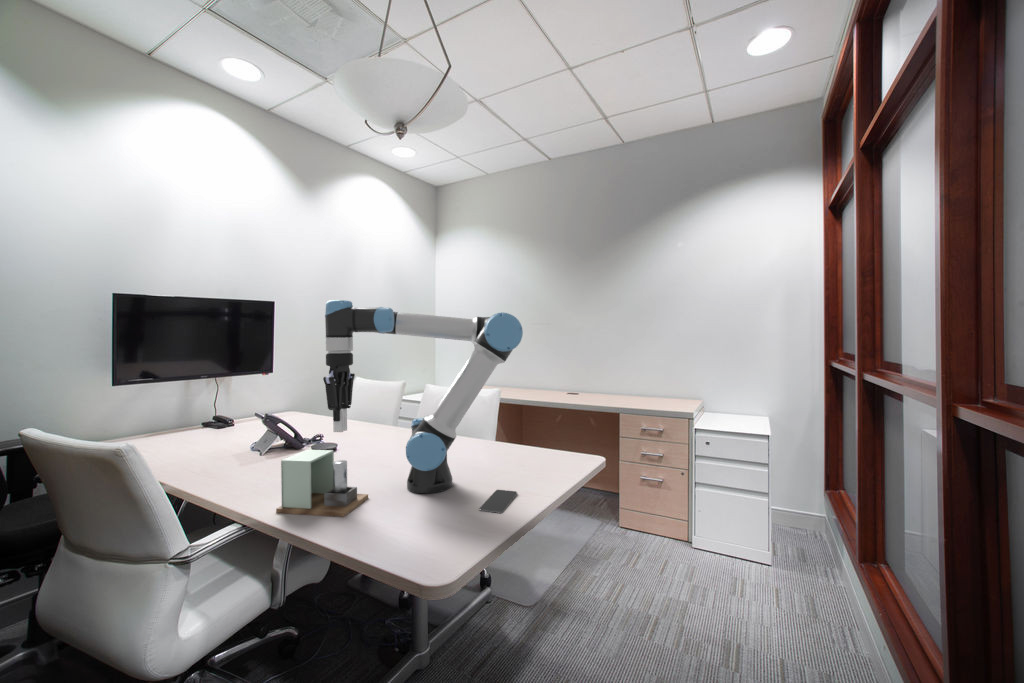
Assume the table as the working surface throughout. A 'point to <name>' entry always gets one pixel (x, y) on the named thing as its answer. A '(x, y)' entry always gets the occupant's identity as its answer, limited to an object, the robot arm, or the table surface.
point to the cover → (306, 477)
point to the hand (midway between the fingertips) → (340, 431)
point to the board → (329, 504)
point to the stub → (340, 477)
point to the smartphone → (498, 501)
